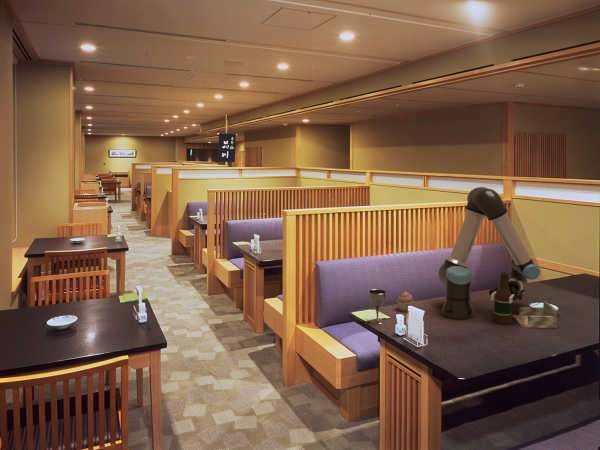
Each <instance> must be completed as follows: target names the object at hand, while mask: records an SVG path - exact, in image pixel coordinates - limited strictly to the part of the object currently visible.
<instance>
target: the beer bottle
mask: <svg viewBox="0 0 600 450" xmlns="http://www.w3.org/2000/svg"><path fill="white" fill-rule="evenodd" d="M499 275H500V280H499V286H498V287H499V290H498V291H497V293H496V295H495V299H494V305H493V307H494V308H493V309H494V311H493V312H494V313H493V320H494V321H493V322H495V323H497V324H498V325H499V324H500V325H510V324H511V322H512V317H513V313H512V312H513V302H512V303H511V304H510V303H509V297H510V296H511V295H512V294H511V292H510V291H509V288H508V281H509V277H510V274H509V272H506V271H505V272H504V271H502V272H500V274H499Z"/></svg>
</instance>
